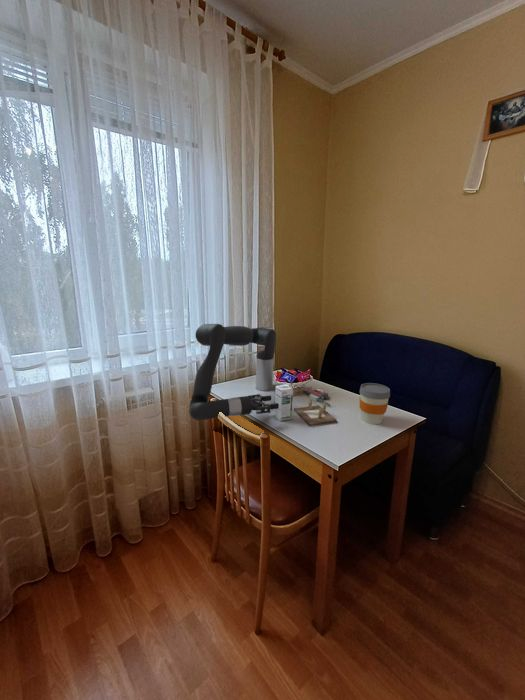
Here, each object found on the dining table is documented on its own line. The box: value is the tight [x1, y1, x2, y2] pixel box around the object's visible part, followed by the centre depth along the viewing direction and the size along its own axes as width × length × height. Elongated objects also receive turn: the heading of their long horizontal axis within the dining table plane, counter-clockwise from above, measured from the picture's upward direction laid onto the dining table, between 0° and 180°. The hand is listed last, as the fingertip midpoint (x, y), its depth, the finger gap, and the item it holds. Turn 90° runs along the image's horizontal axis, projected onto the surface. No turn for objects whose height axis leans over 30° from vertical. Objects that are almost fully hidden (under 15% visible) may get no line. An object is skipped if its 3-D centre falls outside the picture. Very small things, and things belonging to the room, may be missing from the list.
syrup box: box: [274, 383, 294, 422], centre depth 139 cm, size 6×6×14 cm
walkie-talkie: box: [302, 386, 331, 406], centre depth 162 cm, size 9×4×20 cm
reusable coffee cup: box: [358, 382, 391, 425], centre depth 139 cm, size 13×13×15 cm
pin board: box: [293, 399, 338, 427], centre depth 142 cm, size 16×13×6 cm
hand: (274, 401), depth 137 cm, fingers open, 8 cm apart
